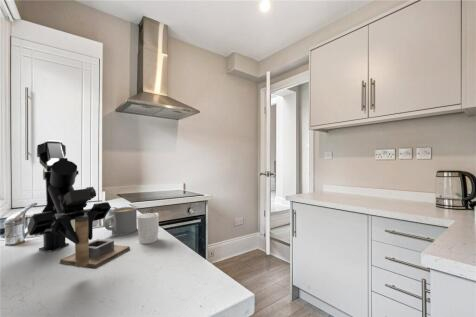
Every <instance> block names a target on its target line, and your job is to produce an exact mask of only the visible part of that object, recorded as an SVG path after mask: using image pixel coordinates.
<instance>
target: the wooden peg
mask: <svg viewBox="0 0 476 317" xmlns="http://www.w3.org/2000/svg"><path fill="white" fill-rule="evenodd" d="M74 231H75V233H76V235H77V237H78V240H79V243H78V244H75V243H74V244H75V247H74V248H75V250H74V251H75V252H74V253H75V259H76V265H75V267H76V268H79V267H80V268H81V267H82V268H83V267H86V266H85V265H87V264H89V243H90V240H89V232H88V216H78V217H75V219H74Z"/></svg>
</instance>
